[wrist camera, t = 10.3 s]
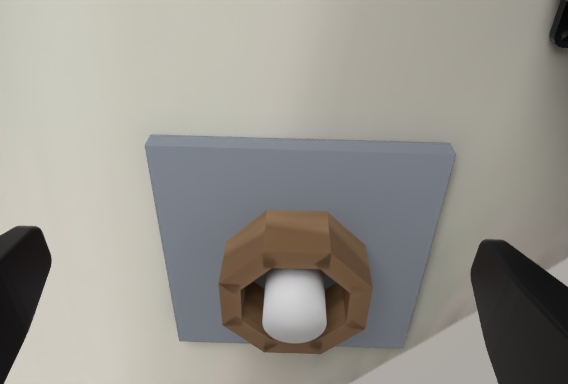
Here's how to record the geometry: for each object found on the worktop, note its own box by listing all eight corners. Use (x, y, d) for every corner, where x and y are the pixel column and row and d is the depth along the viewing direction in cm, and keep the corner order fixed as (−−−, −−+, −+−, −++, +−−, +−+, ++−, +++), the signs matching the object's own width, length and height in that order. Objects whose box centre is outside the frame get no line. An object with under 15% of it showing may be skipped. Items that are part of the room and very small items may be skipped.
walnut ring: (370, 212, 23) (379, 254, 20) (354, 310, 27) (360, 355, 24) (224, 208, 23) (214, 249, 20) (231, 307, 27) (224, 351, 25)
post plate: (449, 143, 22) (485, 208, 17) (400, 334, 30) (416, 409, 26) (150, 135, 22) (116, 197, 18) (182, 328, 30) (164, 401, 26)
